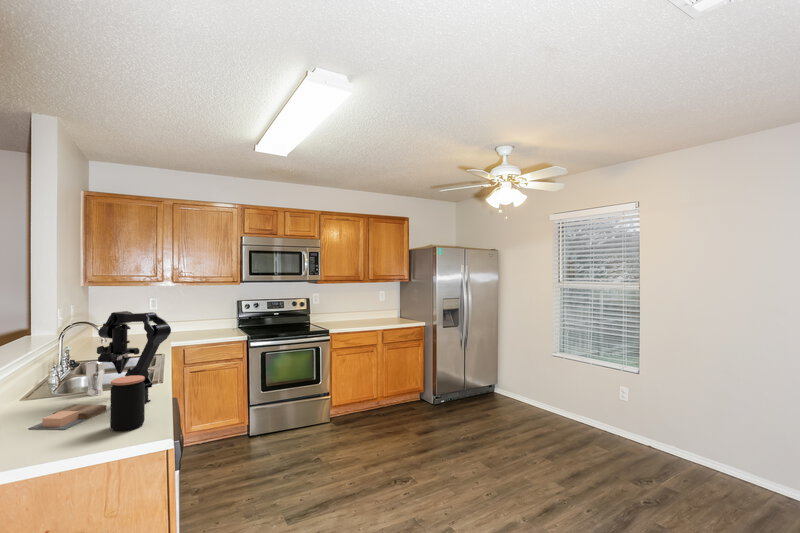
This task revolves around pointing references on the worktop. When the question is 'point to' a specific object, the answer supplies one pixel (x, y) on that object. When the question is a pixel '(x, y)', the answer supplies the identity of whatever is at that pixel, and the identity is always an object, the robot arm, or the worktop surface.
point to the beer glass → (95, 377)
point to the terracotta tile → (60, 418)
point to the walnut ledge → (86, 410)
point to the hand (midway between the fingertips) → (119, 373)
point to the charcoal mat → (41, 427)
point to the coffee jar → (127, 403)
